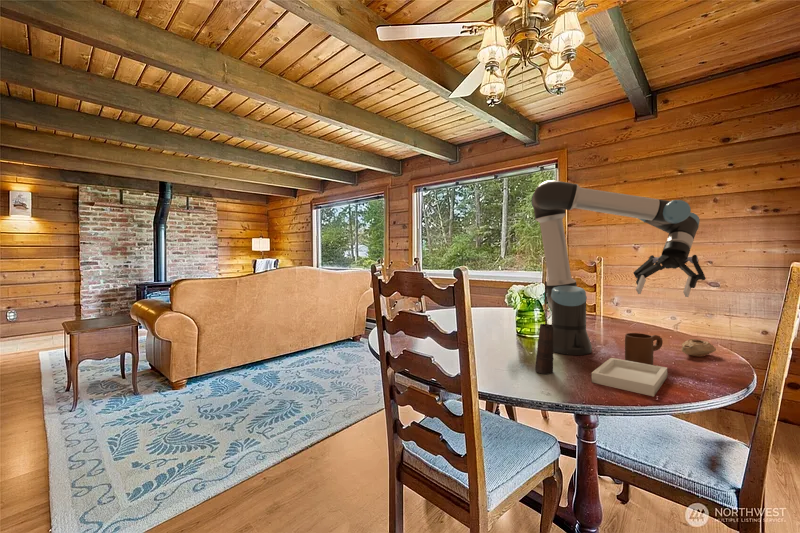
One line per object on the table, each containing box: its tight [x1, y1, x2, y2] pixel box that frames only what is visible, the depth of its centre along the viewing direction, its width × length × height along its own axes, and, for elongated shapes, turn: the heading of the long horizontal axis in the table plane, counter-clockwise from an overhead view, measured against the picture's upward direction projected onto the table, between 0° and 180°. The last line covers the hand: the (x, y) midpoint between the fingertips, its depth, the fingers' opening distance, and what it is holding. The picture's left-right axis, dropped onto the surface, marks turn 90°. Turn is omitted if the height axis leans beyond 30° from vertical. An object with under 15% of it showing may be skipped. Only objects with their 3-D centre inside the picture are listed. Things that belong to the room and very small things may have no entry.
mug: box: [624, 332, 664, 365], centre depth 113 cm, size 12×8×9 cm, turn 97°
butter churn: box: [534, 280, 554, 375], centre depth 106 cm, size 9×10×28 cm
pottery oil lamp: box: [680, 338, 717, 358], centre depth 120 cm, size 9×12×7 cm
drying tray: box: [591, 357, 668, 397], centre depth 99 cm, size 14×18×3 cm
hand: (660, 293), depth 118 cm, fingers open, 13 cm apart
